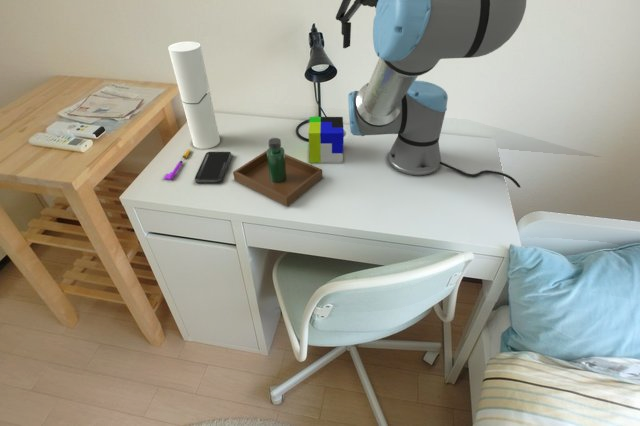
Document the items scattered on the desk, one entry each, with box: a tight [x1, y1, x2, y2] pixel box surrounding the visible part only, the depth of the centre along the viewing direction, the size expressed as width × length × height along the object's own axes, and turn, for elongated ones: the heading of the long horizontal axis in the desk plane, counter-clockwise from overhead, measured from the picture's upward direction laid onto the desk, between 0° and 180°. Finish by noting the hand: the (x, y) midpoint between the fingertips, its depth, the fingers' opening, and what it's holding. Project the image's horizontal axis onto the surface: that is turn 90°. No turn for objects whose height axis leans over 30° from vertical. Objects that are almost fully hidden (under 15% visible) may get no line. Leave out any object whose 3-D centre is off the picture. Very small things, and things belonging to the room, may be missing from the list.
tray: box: [232, 150, 323, 208], centre depth 107 cm, size 20×16×3 cm
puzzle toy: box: [308, 116, 345, 164], centre depth 114 cm, size 10×10×10 cm
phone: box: [194, 151, 233, 185], centre depth 111 cm, size 8×1×15 cm
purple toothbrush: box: [163, 148, 191, 181], centre depth 113 cm, size 3×1×16 cm
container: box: [167, 41, 221, 150], centre depth 114 cm, size 9×9×30 cm
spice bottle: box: [266, 137, 287, 183], centre depth 103 cm, size 5×5×12 cm
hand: (366, 51), depth 109 cm, fingers open, 13 cm apart
